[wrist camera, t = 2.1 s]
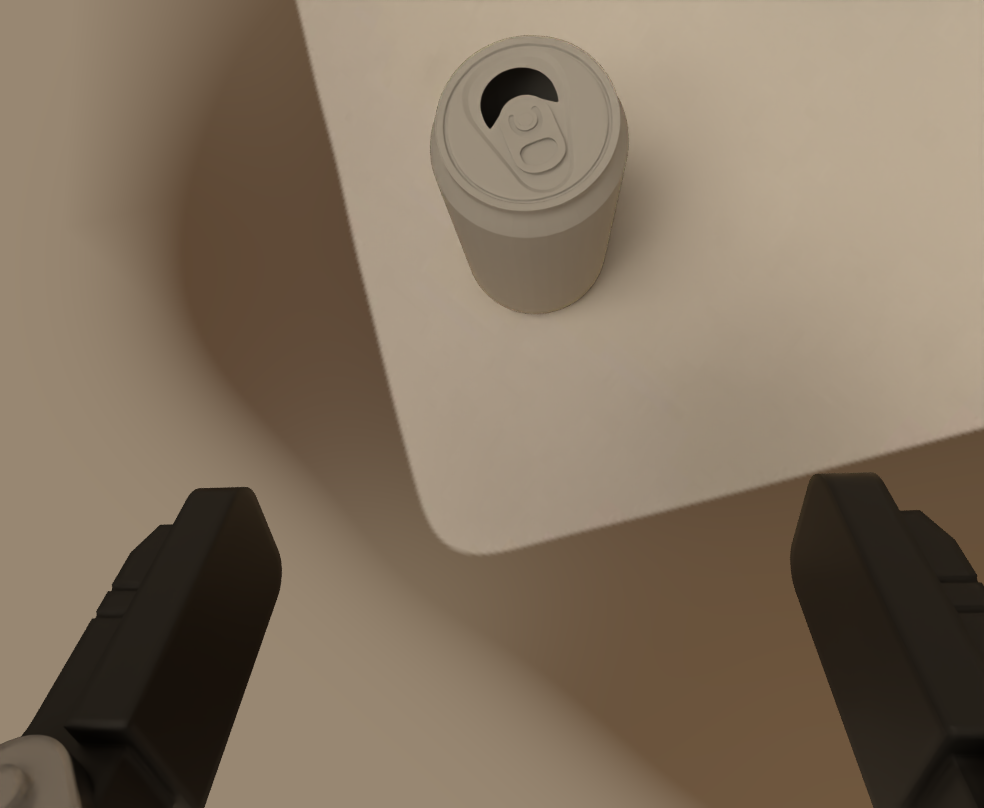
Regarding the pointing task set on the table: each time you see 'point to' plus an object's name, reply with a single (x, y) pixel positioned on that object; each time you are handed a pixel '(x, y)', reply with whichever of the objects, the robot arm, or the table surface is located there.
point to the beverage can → (531, 168)
